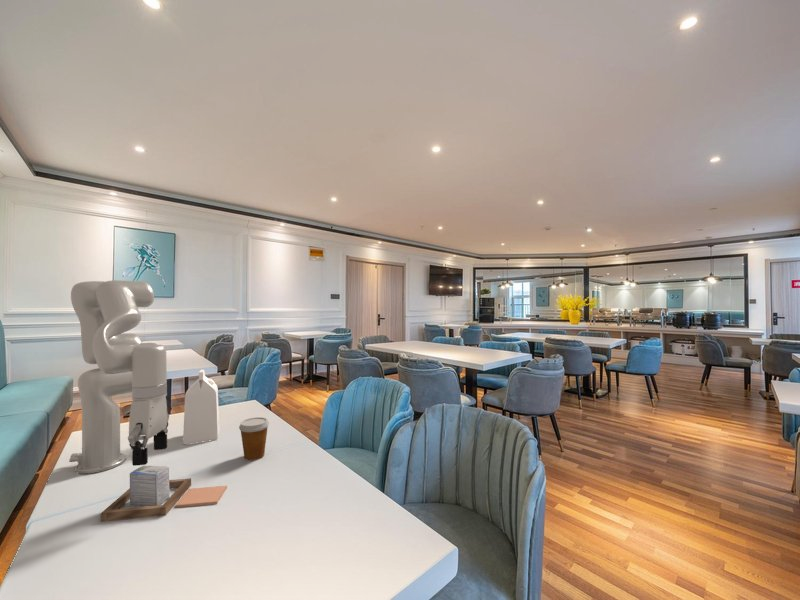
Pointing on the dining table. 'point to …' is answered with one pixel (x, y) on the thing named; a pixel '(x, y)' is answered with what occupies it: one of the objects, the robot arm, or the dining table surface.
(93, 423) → the robot arm
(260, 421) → the disposable coffee cup
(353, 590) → the dining table surface
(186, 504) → the terracotta tile
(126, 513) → the board
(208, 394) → the milk
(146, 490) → the medicine box
